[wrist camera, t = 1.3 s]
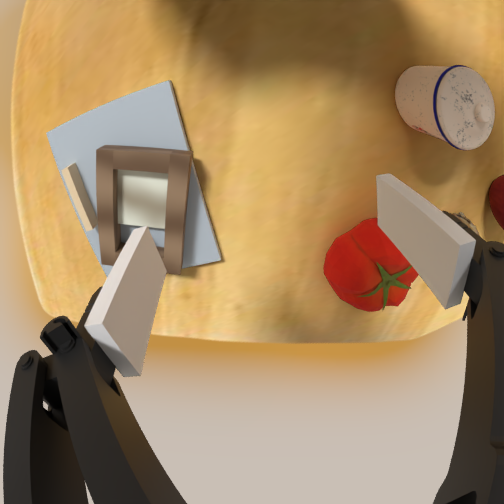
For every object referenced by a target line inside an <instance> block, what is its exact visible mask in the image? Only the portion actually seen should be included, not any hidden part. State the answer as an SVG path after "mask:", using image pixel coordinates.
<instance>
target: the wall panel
mask: <svg viewBox="0 0 504 504" xmlns="http://www.w3.org/2000/svg"><path fill="white" fill-rule="evenodd" d="M46 134H47V137H48V140H49V143H50V146H51V149H52V152H53V155H54V158H55V161H56V164H57V166H58V169H59V172H60V175H61V177H62V180H63V182H64V185H65V188H66V190H67V193H68V195H69V198H70V200H71V202H72V205H73V207H74V209H75V212H76V214H77V216H78V219H79V221H80V223H81V225H82V228H83V230H84V232H85V234H86V236H87V238H88V240H89V242H90V245H91V247H92V249H93V251H94V253H95V255H96V257H97V259H98V261H99V263H100V265H101V267H102V268H103V270H104V272H105V274H106V276H107V277H108V275H109V273H110V272H111V270H112V268H113V266H109V265H102V264H101V255H100V245H99V233H98V219H97V198H96V149H98V148H100V147H102V146H104V145H121V146H139V147H153V148H165V149H176V150H186V151H190V149H189V145H188V142H187V138H186V134H185V131H184V127H183V123H182V120H181V116H180V112H179V109H178V105H177V101H176V98H175V94H174V90H173V86H172V82H171V81H170V80H168V81H165V82H162V83H159V84H156V85H153V86H150V87H147V88H145V89H142V90H139V91H136V92H134V93H131V94H128V95H126V96H123V97H121V98H118V99H116V100H113V101H111V102H109V103H106V104H104V105H102V106H99V107H97V108H95V109H93V110H91V111H88V112H86V113H84V114H82V115H80V116H78V117H76V118H74V119H72V120H70V121H68V122H66V123H64V124H62V125H60V126H58V127H56V128H54V129H53V130H51V131H49V132H47V133H46ZM120 227H121V242H124V243H126V242H127V240H128V239H129V237H130V235H131V233H132V232H133V230H134V229H137V228H140V227H144V226H135V225H126V224H120ZM148 228H149V231H150V233H151V235H152V238H153V240H154V243H155V245H156V246H157V247H164V239H165V229H162V228H153V227H148ZM220 260H221V253H220V250H219V246H218V243H217V240H216V237H215V234H214V230H213V227H212V224H211V220H210V217H209V214H208V210H207V207H206V204H205V200H204V197H203V194H202V190H201V187H200V183H199V180H198V177H197V173H196V170H195V166H194V163H193V159H192V165H191V174H190V183H189V193H188V203H187V214H186V226H185V238H184V253H183V265H182V268H187V267H192V266H196V265H201V264H206V263H210V262H215V261H220Z"/></svg>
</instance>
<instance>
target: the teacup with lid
mask: <svg viewBox="0 0 504 504" xmlns="http://www.w3.org/2000/svg"><path fill="white" fill-rule="evenodd" d="M395 101H396V105H397V109H398V111H399V114H400V115H401V117H402V119H403V120H404V121H405V122H406V123H407V124H408V125H409V126H410V127H411V128H413V129H415V130H417V131H420V132H422V133H425V134H428V135H431V136H433V137H436V138H438V139H441V140H443V141H446V142H448V143H449V144H450V145H452V146H453V147H455V148H457V149H460V150H472V149H475V148H477V147H479V146H481V145H482V144H483V143H484V142H485V141H486V140H487V138H488V137H489V135H490V133H491V131H492V128H493V124H494V117H495V108H494V101H493V97H492V94H491V91H490V89H489V87H488V85H487V83H486V82H485V80H484V79H483V78H482V77H481V76H480V75H479V74H478V73H477V72H476V71H474V70H472V69H471V68H469V67H466V66H462V65H455V66H451V67H446V66H413V67H410V68H408V69H407V70H405V71H404V72H403V73H402V74H401V76H400V77H399V79H398V81H397V84H396V89H395Z"/></svg>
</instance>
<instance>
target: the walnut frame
mask: <svg viewBox="0 0 504 504" xmlns="http://www.w3.org/2000/svg"><path fill="white" fill-rule="evenodd" d="M192 157H193V151H186V150H176V149H165V148H153V147H139V146H121V145H104V146H102V147H100V148H98V149H96V198H97V219H98V233H99V245H100V255H101V264H102V265H109V266H114V264H115V262H116V260H117V258H118V257H119V255H120V253H121V251H122V249H123V248H124V246H125V244H126V243H124V242H121V227H120V224H126V225H135V226H148V227H153V228H162V229H165V239H164V247H157V246H156V247H157V250H158V252H159V254H160V257H161V259H162V261H163V264H164V266H165V268H166V271H167V272H166V273H170V274H178V275H180V274H181V269H182V265H183V253H184V238H185V226H186V214H187V203H188V193H189V183H190V174H191V165H192Z"/></svg>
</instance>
